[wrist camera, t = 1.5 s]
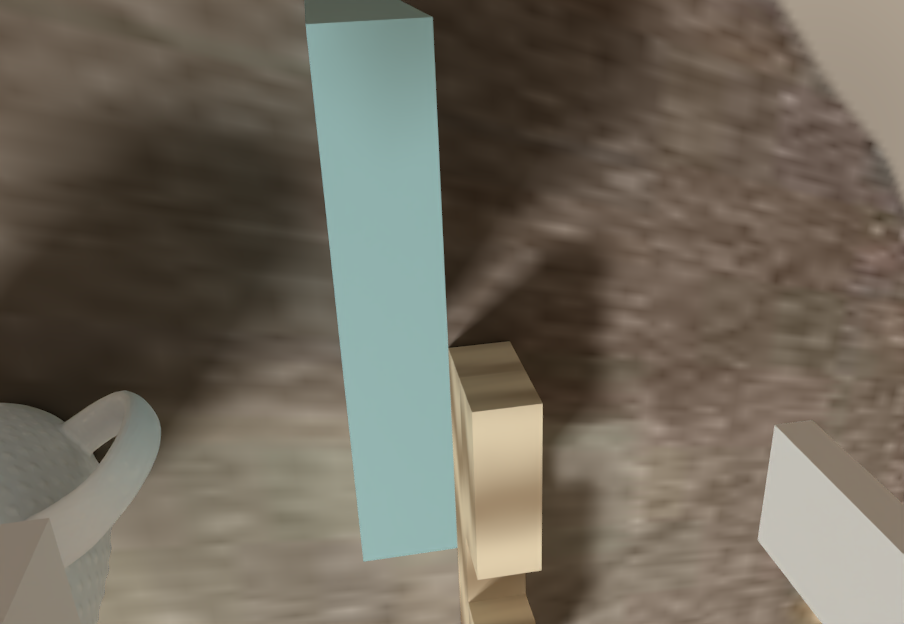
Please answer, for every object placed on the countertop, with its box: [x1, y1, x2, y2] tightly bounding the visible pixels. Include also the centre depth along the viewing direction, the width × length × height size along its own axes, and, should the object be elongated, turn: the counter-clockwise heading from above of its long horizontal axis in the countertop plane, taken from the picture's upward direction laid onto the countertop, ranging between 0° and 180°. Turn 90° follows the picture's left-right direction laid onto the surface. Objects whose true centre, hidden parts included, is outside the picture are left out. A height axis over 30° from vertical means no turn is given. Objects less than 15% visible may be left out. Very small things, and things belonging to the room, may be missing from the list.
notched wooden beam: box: [448, 341, 543, 624], centre depth 41 cm, size 22×3×6 cm, turn 2°
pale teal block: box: [304, 0, 457, 561], centre depth 29 cm, size 16×3×14 cm, turn 2°
